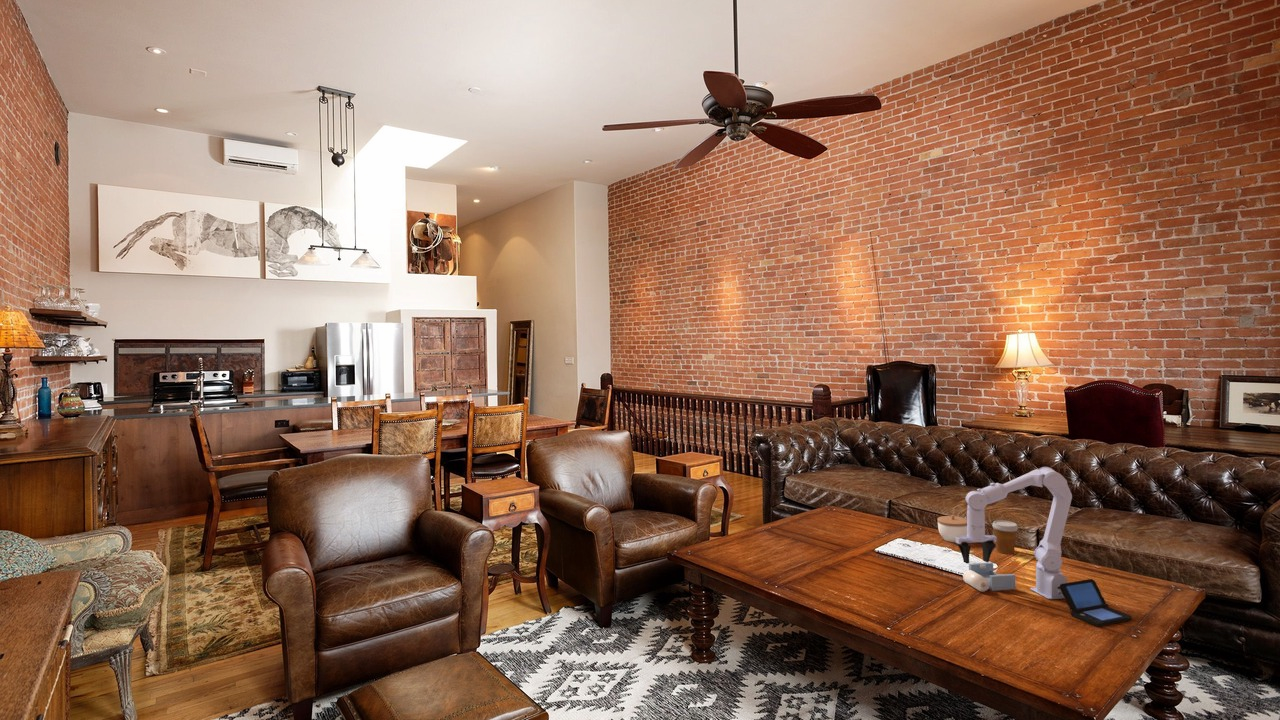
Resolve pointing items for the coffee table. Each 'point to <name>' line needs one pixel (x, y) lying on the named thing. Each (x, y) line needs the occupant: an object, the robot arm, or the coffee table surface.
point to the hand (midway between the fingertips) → (976, 562)
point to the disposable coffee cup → (1005, 536)
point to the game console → (1090, 604)
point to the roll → (976, 580)
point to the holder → (994, 576)
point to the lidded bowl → (952, 527)
